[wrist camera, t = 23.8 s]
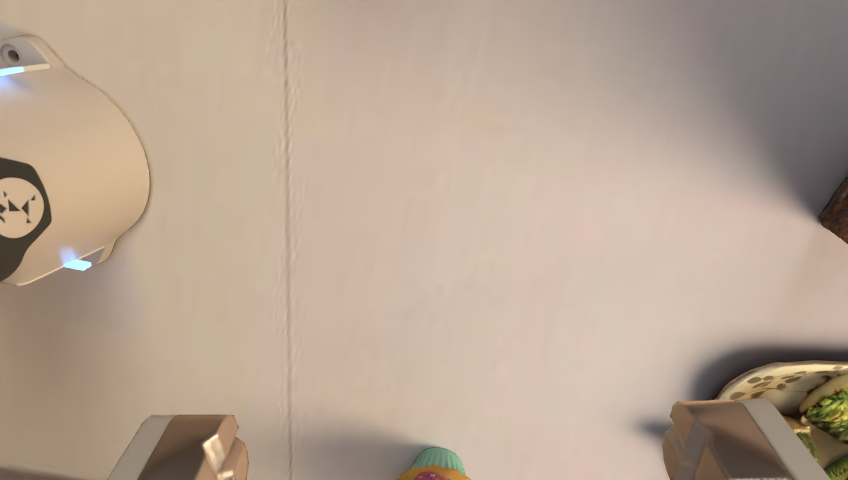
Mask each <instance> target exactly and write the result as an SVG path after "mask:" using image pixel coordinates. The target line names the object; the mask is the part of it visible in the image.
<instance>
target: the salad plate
mask: <svg viewBox="0 0 848 480" xmlns="http://www.w3.org/2000/svg"><path fill="white" fill-rule="evenodd" d="M727 399H732V400H740V399H766V400H768V401H769V402H771V403H772V404H773V405H774V406H775V407H776V409H777V410H778V411H779V413H780V414H781V415H782V417H783V418H784V419H785V420H786V422H787V423H788V424H789V426H790V427H791V428H792V430H793V431H794V432H795V433H796V435H797V436H798V437H799V439H800V440H801V441H802V443H803V444H804V445H805V447H806V448H807V449H808V450H809V452H810V453H811V454H812V456H813V457H814V458H815V460H816V461H817V462H818V463H819V465H820V466H821V467H822V469H823V470H824V471H825V473H826V474H827V475H828V477H829V478H830V479H831V480H848V362H833V361H819V360H813V361H799V362H790V363H781V362H778V363H771V364H767V365H764V366H761V367H758V368H755V369H752V370H750V371H747V372H745V373H744V374H742V375H740V376H738V377H737V378H735V379H733V380H732V381H730V382H729V383H728V384H727V385H725V386H724V387H723V389H722V390H721V392H720V393H719V395H718V396H717V397H716V399H715V400H727Z"/></svg>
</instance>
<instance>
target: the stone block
mask: <svg viewBox="0 0 848 480" xmlns="http://www.w3.org/2000/svg"><path fill="white" fill-rule="evenodd" d="M820 219H821V223H822V225H823V227H825V228H826V229H828V230H830V231H831V232H832V233H834V234H835V235H836V236H838V237H839V238H841V239H842V240H843V241H844V242H846V243H847V244H848V176H847V178H846V179H845V181H844V182H843V184H842V185H841V187H840V188H839V190H838V191H837V192H836V194H835V196H834V197H833V199H832V201H831V202H830V204H829V205H828V206H827V208H826V209H825V210H824V211H823V213H822V214H821V215H820Z"/></svg>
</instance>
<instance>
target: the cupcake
mask: <svg viewBox="0 0 848 480" xmlns="http://www.w3.org/2000/svg"><path fill="white" fill-rule="evenodd" d="M397 480H470V479H469V478H468V477H467V476H466V475H465V472H464V468H463V464H462V462H461V460H460V458H459V457H458V456H457V455H456V454H455V453H453V452H451V451H449V450H447V449H443V448H430V449H427V450H424V451H423V452H421V453H420V454H419V455H418V457H417V458H416V460H415V462H414V464H413V466H412V467H411V469H409V470H408V471H407V472H405V473H404V474H402V475H401V476H400V477H398V479H397Z"/></svg>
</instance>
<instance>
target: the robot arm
mask: <svg viewBox="0 0 848 480" xmlns="http://www.w3.org/2000/svg"><path fill="white" fill-rule="evenodd" d="M16 53H17V54H18V56H19V59H18V57H17V55H16ZM149 187H150V178H149V169H148V164H147V160H146V156H145V153H144V150H143V147H142V145H141V142H140V140H139V138H138V136H137V134H136V133H135V131H134V129H133V127H132V126H131V124H130V123H129V121H128V120H127V118H126V117H125V116H124V114H123V113H122V112H121V111H120V110H119V108H118V107H117V106H116V105H115V104H114V103H113V102H112V101H111V100H110V99H109V98H108V97H107V96H106V95H104V94H103V93H102V92H101V91H100V90H98V89H97V88H96V87H94V86H93V85H91V84H90V83H88V82H87V81H85V80H84V79H82V78H80V77H79V76H77V75H76V74H74V73H73V72H71V71H70V70H69V69H68V68H67V67H66V66H65V65H64V64H63V63H62V62H61V60H60V59H59V58H58V57H57V56H56V54H55V53H54V52H53V51H52V50H51V49H50V48H49V47H48V46H47V45H46V44H45V43H44V42H43V41H42V40H41V39H39V38H38V37H36V36H34V35H23V36H17V37H13V38H9V39H5V40H1V41H0V282H1V283H7V284H14V285H16V286H22V285H26V284H29V283H31V282H33V281H36V280H38V279H40V278H42V277H44V276H46V275H48V274H50V273H52V272H55V271H57V270H59V269H61V268H63V267H68V268H73V269H78V270H83V271H84V270H85V269H87V268H88V267H90V266H91V265H96V264H98V263H101V262H103V261H105V260H106V259H107V258H108V257H109V256H110V254H111V252H112V249H113V247H114V244H115V241H116V239H117V238H118V237H119V236H120V235H121V234H122V233H124V232H125V231H126V230H128V229H129V228H130V227H132V226H133V225H134V224H135V223H136V222H137V220H138V219H139V218H140V216H141V215H142V213H143V211H144V209H145V206H146V203H147V200H148V195H149ZM670 417H671V419H672V421H673V423H674V426H673V427H672V428H670V429H669V430H668V431H667V432H665V436H664V441H663V457H664V463H665V466H666V470H667V473H668V475H669V478H670V480H831V479H830V478H829V477H828V475H827V474H826V473H825V471H824V470H823V469H822V467H821V466H820V465H819V463H818V462H817V461H816V460H815V458H814V457H813V456H812V454H811V453H810V452H809V450H808V449H807V448H806V447H805V445H804V444H803V443H802V441H801V440H800V439H799V437H798V436H797V435H796V433H795V432H794V431H793V430H792V428H791V427H790V426H789V424H788V423H787V422H786V420H785V419H784V418H783V417H782V415H781V414H780V413H779V411H778V410H777V409H776V407H775V406H774V405H773V404H772V403H771V402H769V401H768V400H766V399H740V400H732V399H727V400H702V401H678V402H677V403H675V404H674V405H673V407H672V411H671V414H670ZM238 428H239V426H238V424H237V422H236V419H235V417H234V415H151V416H150V417H149V418H147V419H146V420H145V421H144V422H143V423H142V424H141V426H140V428H139V429H138V431H137V432H136V434H135V436H134V437H133V439H132V440H131V442H130V443H129V445H128V447H127V448H126V450H125V451H124V453H123V455H122V456H121V458H120V459H119V461H118V463H117V464H116V466H115V467H114V469H113V471H112V472H111V474H110V475H109V477H108V479H107V480H247V472H248V465H249V462H248V452H247V449H246V446H245V443H244V442H243V441H241V440H240V439H238V438H237V437H236V436H235V435H236V433H237V430H238Z"/></svg>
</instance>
